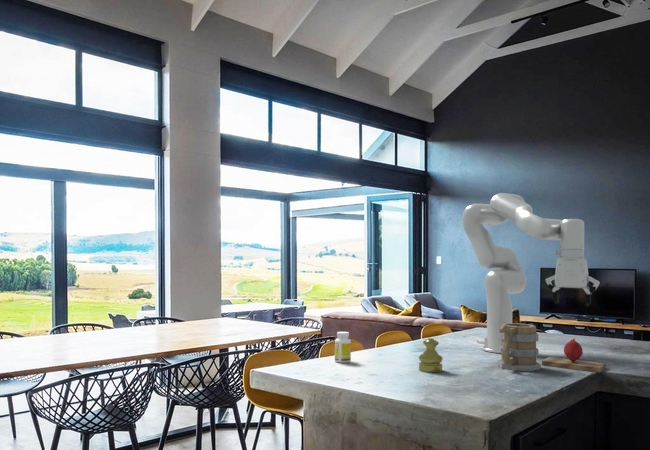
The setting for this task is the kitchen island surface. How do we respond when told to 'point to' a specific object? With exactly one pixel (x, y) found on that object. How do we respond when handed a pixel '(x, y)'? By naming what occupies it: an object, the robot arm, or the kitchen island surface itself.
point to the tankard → (518, 347)
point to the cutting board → (574, 364)
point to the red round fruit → (573, 350)
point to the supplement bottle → (342, 348)
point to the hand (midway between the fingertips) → (571, 304)
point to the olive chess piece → (430, 357)
